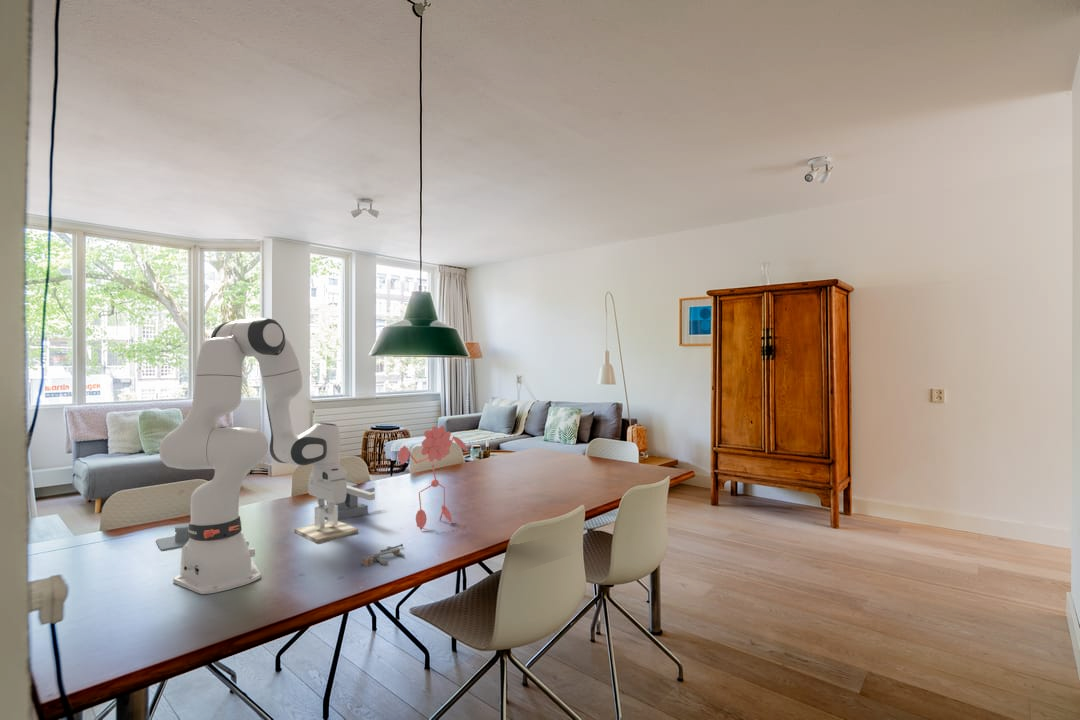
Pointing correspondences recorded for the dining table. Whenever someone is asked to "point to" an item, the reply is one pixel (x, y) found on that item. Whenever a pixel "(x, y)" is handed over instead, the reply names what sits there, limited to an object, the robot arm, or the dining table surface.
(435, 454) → the pink stick figure
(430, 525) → the dining table surface
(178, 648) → the dining table surface
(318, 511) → the white notched block
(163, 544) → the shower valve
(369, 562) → the clamp
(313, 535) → the ash board
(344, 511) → the grey machinist vise
